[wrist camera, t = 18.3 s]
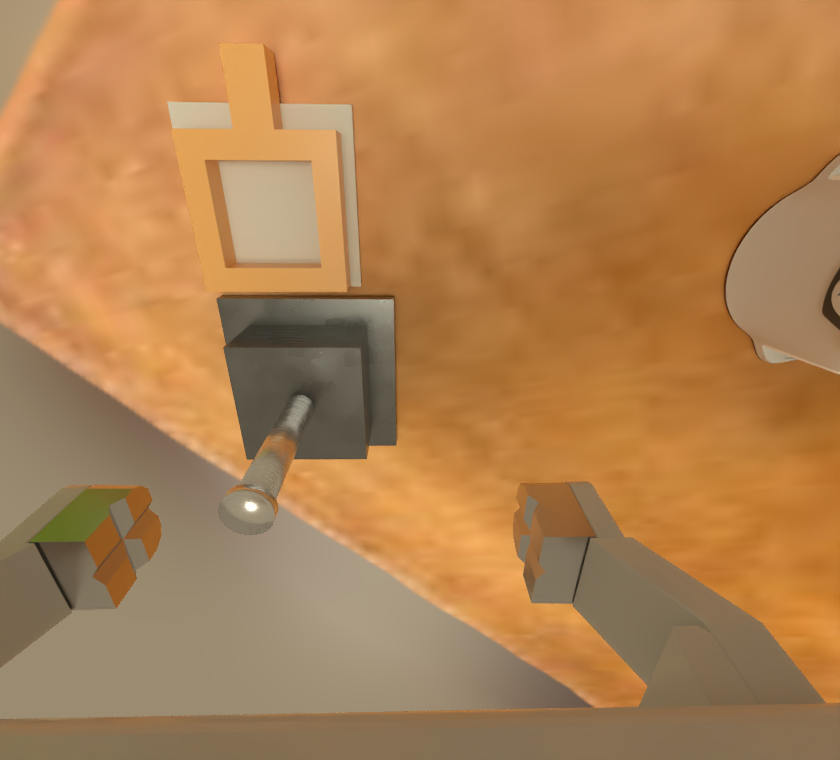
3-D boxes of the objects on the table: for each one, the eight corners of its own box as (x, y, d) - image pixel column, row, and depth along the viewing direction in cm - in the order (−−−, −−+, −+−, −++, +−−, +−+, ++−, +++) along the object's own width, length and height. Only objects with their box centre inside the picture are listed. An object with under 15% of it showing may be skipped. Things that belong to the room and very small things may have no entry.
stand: (394, 296, 39) (379, 393, 21) (396, 439, 45) (386, 604, 28) (222, 295, 38) (55, 393, 20) (250, 439, 45) (145, 607, 27)
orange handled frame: (335, 54, 30) (329, 44, 28) (350, 285, 38) (347, 292, 35) (170, 52, 30) (151, 42, 28) (218, 285, 37) (206, 291, 35)
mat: (352, 105, 32) (351, 104, 32) (361, 285, 38) (360, 286, 38) (170, 102, 32) (167, 101, 31) (208, 284, 38) (206, 285, 37)
